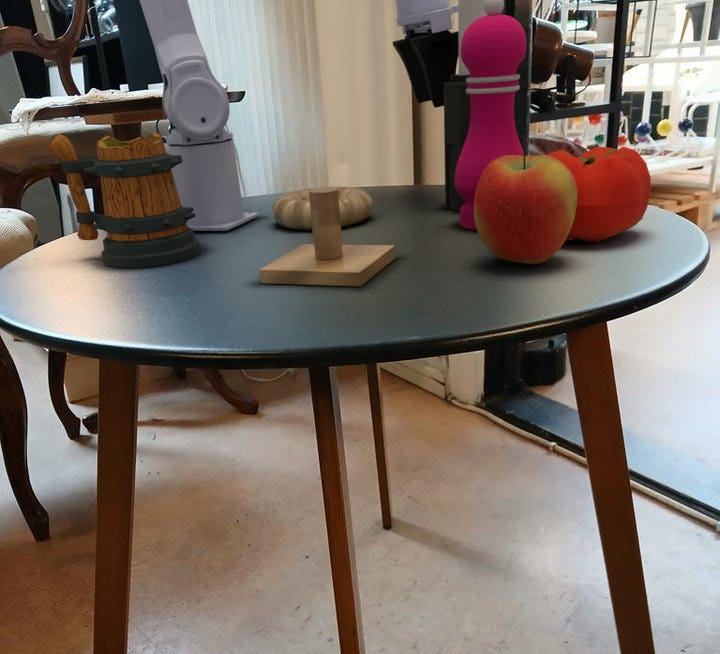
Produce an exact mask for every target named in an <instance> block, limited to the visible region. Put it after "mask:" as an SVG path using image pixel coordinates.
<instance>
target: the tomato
mask: <svg viewBox="0 0 720 654" xmlns="http://www.w3.org/2000/svg"><path fill="white" fill-rule="evenodd" d="M546 155H547V156H551V157H554V158H556V159H558V160H560V161H561V162H562V163H564V164H565V165H566V166H567V167H568V169H569V170H570V171H571V173H572V174H573V176H574V178H575V181H576V185H577V207H576V212H575V217H574V221H573V224H572V227H571V229H570V232H569V234H568V236H567V238H566V240H565V241H573V240H582V241H584V242H588V243H600V242H602V241H603V240H606V239H608V238H610V237H611V238H612V237H614V236H616V235H618V234H621V233H623V232H625V231H628V230H630V229H631V228H634V227H635V226H636V225H637V224H639V222H641V221H642V220H643V217H644V216H645V213H646V211H647V209H648V205H649V201H650V197H651V194H652V185H651V184H652V183H651V181H652V180H651V174H650V171H649V167H648V163H647V162H646V161H645V159H644V158H643V157H642V156H641V154H640V153H639V152H638V151H637V150H635V149H634V148H630V147H627V146H621V147H619V149H618V148H615V147H607V146H596V147H594V148H592V149H589V150H587V151H585V152H584V153H583V154H581V155H580V156H578V157H576V156H574V155H573V154H572V153H569V152H568V151H566V150H565V149H560V150H559V149H558V150H556V151H552V152H549V153H546Z"/></svg>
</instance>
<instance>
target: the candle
mask: <svg viewBox="0 0 720 654" xmlns="http://www.w3.org/2000/svg"><path fill="white" fill-rule="evenodd" d="M485 1H486V0H457V2H458V3H457V5H458V12H457V17H458V20H457V21H458V25H457V27H458V29H457V31H458V39H459V56H458V74H457V73H456V75H451V82H445V83H444V106H443V128H444V129H443V132H444V133H443V134H444V136H443V139H444V145H443V146H444V204H445V205H444V206H445V207H444V208H445V209H446V210H447V209H448V210H449V209H450V210H453V211H457V212H459V213H460V208H461V207H462V206H463V205H465V204H466V203H465V201H464V199H463V198H462V197H461V195H460V194H459V193H458V191H457V190H456V187H455V172H456V168H457V163H458V160H459V157H460V154H461V152H462V149H463V146H464V144H465V141H466V138H467V135H468V131H469V126H470V119H471V100H470V94H468V93H466V89H467V88H468V87H467V85H468V83H467V82H466V79H467V78H468V77H470V72H469V70H468V69H467V68H466V66H465V65H464V63H463V61H462V59H461V42H462V38H463V35H464V32H465V31H466V29H467V28H468V26H469V25H470V24H471V23H472V22H474V21H475V20H477V19H479V18H481V17H483V16H487V14H486V12H485V10H484V3H485Z"/></svg>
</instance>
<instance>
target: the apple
mask: <svg viewBox="0 0 720 654" xmlns="http://www.w3.org/2000/svg"><path fill="white" fill-rule="evenodd" d="M527 138H528V135H527V134H525V135H522V137H521V141H522V149H523V152H524V156H518V155H505V156H501V157H498V158H496V159H494V160H493V161H492V162H490V163H489V164H488V165H487V167H486V168H485V170H484V171H483V173H482V175H481V177H480V180H479V183H478V186H477V189H476V193H475V199H474V218H475V224H476V228H477V230H476V231H477V234H478V236H479V238H480V240H481V242H482V244H483V245H484V246H485V248H486V249H487V250H488V252H490V253H491V254H492V255H493V256H495V257H496V258H499V259H500V260H502V261H506V262H512V263H517V264H518V263H519V264H526V265H539V264H542V263H544V262H546V261H547V260H550V259H551V258H552V257H553V256H554V255H555V254H556V253H557V252H559V250H560V249H561V248H562V246H563V245H564V243H565V240H566V238H567V236H568V234H569V232H570V229H571V227H572V224H573V221H574V217H575V212H576V207H577V185H576V181H575V178H574V176H573V174H572V173H571V171H570V170H569V169H568V167H567V166H566V165H565V164H564V163H562V162H561V161H560V160H558V159H556V158H554V157H551V156H547V154H538V155H526V141H527ZM566 241H567V240H566Z"/></svg>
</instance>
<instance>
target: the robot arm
mask: <svg viewBox="0 0 720 654" xmlns="http://www.w3.org/2000/svg"><path fill="white" fill-rule="evenodd" d="M139 3H140V5H141V9H142V12H143V17H144V19H145V21H146V25H147V28H148V31H149V34H150V37H151V40H152V45H153V47H154V51H155V56H156V59H157V63H158V67H159V71H160V74H161V77H162V82H163V88H162V89H163V90H162V97H161V99H162V101H161V103H162V109H163V112H164V114H165V116H166V118H167V120H168V122H169V123H170V124H171V125H172V126H173V127H175V128H172V130H171V131H170V133H169V135H167V136H165V139H166V142H164V146H165V149H166V153H168V154H171V155H181V157H182V158H181V159H182V160H183V162H182V163H180V164H178V165H176V166H174V168H172V169H171V171H172V174H173V178H174V181H175V185H176V188H177V192H178V195H179V199H180V202H181V206H182V207H185V208H187V207H193V209H194V211H192V212H191V213H195V217H194V218H191V219H189V220H188V221H187V222H186V223H187V227H190V228H191V229H193V231H195V232H198V231H199V232H211V231H212V232H227V231H230V230H232V229H235V228H236V227H238V226H241V225H243V224H246V223H247V222H250V221H252V220H254V219H256V218H258V217H259V212H249V211H248V212H244V207H243V206H244V205H243V199H242V191H241V185H240V177H239V169H238V165H237V164H238V162H237V155H236V148H235V140H234V134H233V132H231V131H230V132H229V131H227V130H226V128H225V127H226V125H227V124H228V122H229V121H228V120H229V118H230V109H231V107H230V100H229V96H228V94H227V92H226V90H225V88H224V87H223V85H222V84H221V82H220V81H219V80H217V78H216V77H215V75H214V74H213V72H212V70H211V67H210V64H209V61H208V58H207V55H206V52H205V50H204V46H203V44H202V43H201V40H200V37H199V34H198V31H197V29H196V24H195V21H194V18H193V15H192V11H191V8H190V4H189V1H188V0H139ZM395 5H396V13H397V17H396V19H395V20H396V27H401V29H402V35H404V38H401V39H396V40H394V41H392V45H393V48H394V50H395V51H396V53H397V54H398V55H399V57H400V60H401V61H402V63H403V65H404V68H405V70H406V73H407V76H408V79H409V82H410V86H411V88H412V91H413V94H414V97H415V99H416V101H417V103H418V104H421V103H426V102H430V101H431V104H432V106H433V108H436V109H437V108H441V107H444V83H445V82H451V75H456V74H457V67H458V62H459V39H458V30H457V31H453V32H452V31H450V30H453V20H452V15H453V14H455V13H458V4H455V5H450V0H395Z"/></svg>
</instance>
